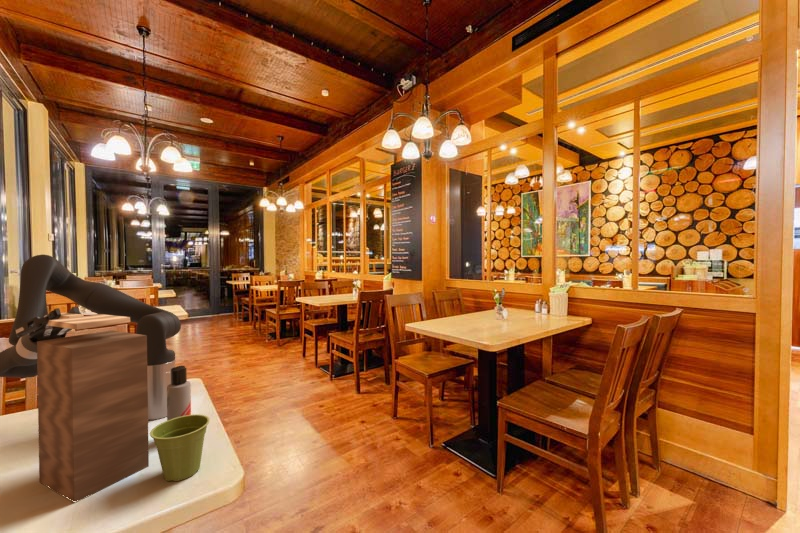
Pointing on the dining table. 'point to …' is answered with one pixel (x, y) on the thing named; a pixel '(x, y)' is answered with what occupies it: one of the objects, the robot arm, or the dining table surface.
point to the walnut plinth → (92, 411)
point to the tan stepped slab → (86, 321)
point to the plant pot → (180, 445)
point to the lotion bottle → (178, 394)
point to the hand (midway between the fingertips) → (67, 310)
